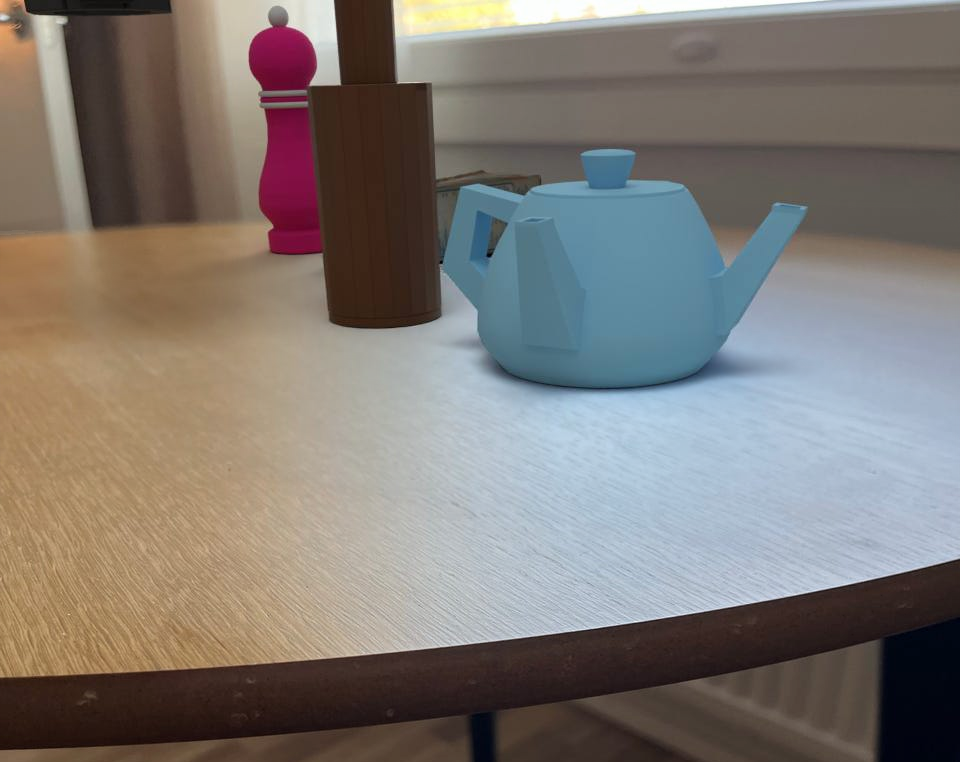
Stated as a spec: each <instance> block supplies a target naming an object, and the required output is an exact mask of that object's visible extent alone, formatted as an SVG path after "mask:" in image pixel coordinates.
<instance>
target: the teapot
mask: <svg viewBox="0 0 960 762" xmlns="http://www.w3.org/2000/svg"><path fill="white" fill-rule="evenodd" d="M636 153H637V152H634V151H633V150H629V149H618V148H617V149H616V148H607V149H606V148H605V149H593V150H586V151H584V152H582V153H581V154H580V160H581V165H582V168H583V172H584V174H585V178H586V180H580V181H565V182H563V181H562V182H554V183H547V184H541V185H540V186H536V187H533V188H531V190H530V191H528V192H527V193H526V195H525V196H523V195H519V194H515V193H511V192H508V191H504V190H500V189H496V188H493V187H489V186H485V185H482V184H474V185H468V186H463V187H460V191H459V196H458V200H457V204H456V209H455V213H454V217H453V222H452V226H451V230H450V234H449V239H448V243H447V247H446V252H445V256H444V260H443V261H442V265H441V270H442V271H443V272H444V273H445V274H446V275H447V277H448V278H449V279H450V280H451V281H452V283H453V284H454V285H455V286H456V287H457V289H458V290H459V291H460V292H461V293H462V294H463V295H464V297H465V298H466V299H467V300H468V302H470V304H471V305H472V306H473V307H474V308H475V309H476V311H477V318H476V321H477V323H476V332H477V334H478V336H479V340H480V341H481V344H482V345H483V346H484V348H485V349H486V350H487V351H488V352H489V354H490V355H491V356H492V357H493V359H494V360H495V361H496V362H497V363H498V364H499V365H500V366H501V368H502V369H503V370H505V371H506V372H507V373H509V374H511V375H513V376H515V377H518V378H521V379H523V380H527V381H530V382H536V383H540V384H545V385H553V386H560V387H573V388H586V389H587V388H589V389H590V388H591V389H615V388H635V387H645V386H652V385H659V384H665V383H669V382H674V381H678V380H682V379H684V378H688V377H690V376H692V375H694V374H696V373H698V372H699V371H701V369H703V367H704V366H705V365H706V364H707V363H708V362H709V361H710V360H711V359H712V358H713V357H714V356H715V355H716V354H717V353H718V352H719V351H720V350H721V348H722V347H723V346H724V344H725V343H726V342H727V340H728V338H729V336H730V334H731V332H732V330H733V329H734V328H735V327H736V326H737V325H738V324H739V323H740V322H741V320H742V318H743V316H744V315H745V313H746V311H748V308H749V307H750V305H751V304H752V302H753V300H754V299H755V297H756V295H757V294H758V293H759V290H760V289H761V287H762V286H763V284H764V282H765V281H766V279H767V278H768V276H769V274H770V273H771V272H772V269H773V268H774V266H775V265H776V263H777V261H778V260H779V258H780V257H781V255H782V253H783V251H784V250H785V248H786V247H787V245H788V244H789V242H790V240H791V239H792V237H793V236H794V234H795V233H796V231H797V229H798V227H799V226H800V224H801V223H802V221H803V220H804V218H805V216H806V215H807V213H808V208H809V207H808V206H807V205H806V206H805V205H799V204H790V203H782V202H775V203H773V205H772V206H771V211H770V212H769V214H768V215H767V216H766V217H765V219H764V220H763V221H762V223H761V224H760V225H759V226H758V228H757V229H756V231H755V232H754V233H753V234H752V235H751V237H750V238H749V240H748V241H747V243H745V245H744V246H743V248H742V249H741V250H740V252H739V253H738V254H737V255H736V257H735V258H734V259H733V261H732V262H730V263H731V264H730V265H729V266H728V267H726V265H725V261H724V259H723V258H724V257H723V255H722V254H721V250H720V248H719V245H718V243H717V241H716V238H715V236H714V234H713V232H712V230H711V228H710V226H709V224H708V222H707V220H706V218H705V216H704V214H703V213H702V210H701V208H700V206H699V204H698V203H697V201H696V200H695V198H694V196H693V195H692V193H691V192H690V190H689V188H687V187H686V186H685V185H684V184H682V183H678V182H671V180H643V179H641V180H637V179H636V180H635V179H629V176H630V173H631V170H632V168H633V165H634V163H635V159H636ZM493 217H495V218H497V219H500V220H502V221H505V222H507V223H508V225H507V227H506V229H505V230H504V232H503V234H502V236H501V238H500V240H499V242H498V244H497V246H496V248H495V250H494V253H492V255H491V257H490V258H489V257H488V256H487V255H488V254H487V249H488V243H489V237H490V231H491V225H492V219H493Z"/></svg>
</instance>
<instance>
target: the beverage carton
mask: <svg viewBox="0 0 960 762" xmlns="http://www.w3.org/2000/svg"><path fill="white" fill-rule="evenodd" d="M474 184H482V185H485V186H489V187H493V188H496V189H500V190H504V191H508V192H511V193H515V194H519V195H523V196H525V195H526V193H527V192H528V191H530V190H531V188H533V187H536V186H540V185H542V177H541V175H539V174H526V173H525V174H524V173H514V172H498V171H497V172H489V171H485V170H483V169H479V170H475V171H470V172H466V173H459V174H455V175H453V176H444V177H439V178H436V191H437V214H438V237H439V259H440V262H443V260H444V256H445V252H446V247H447V243H448V239H449V234H450V230H451V226H452V222H453V217H454V213H455V209H456V204H457V200H458V196H459V191H460V187H463V186H468V185H474ZM507 225H508V223H507V222H505V221H502V220H500V219H497V218H495V217H493V219H492V225H491V231H490V237H489V243H488V249H487V255H491V254H493V253H494V250H495V248H496V246H497V244H498V242H499V240H500V238H501V236H502V234H503V232H504V230H505V229H506V227H507Z"/></svg>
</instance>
